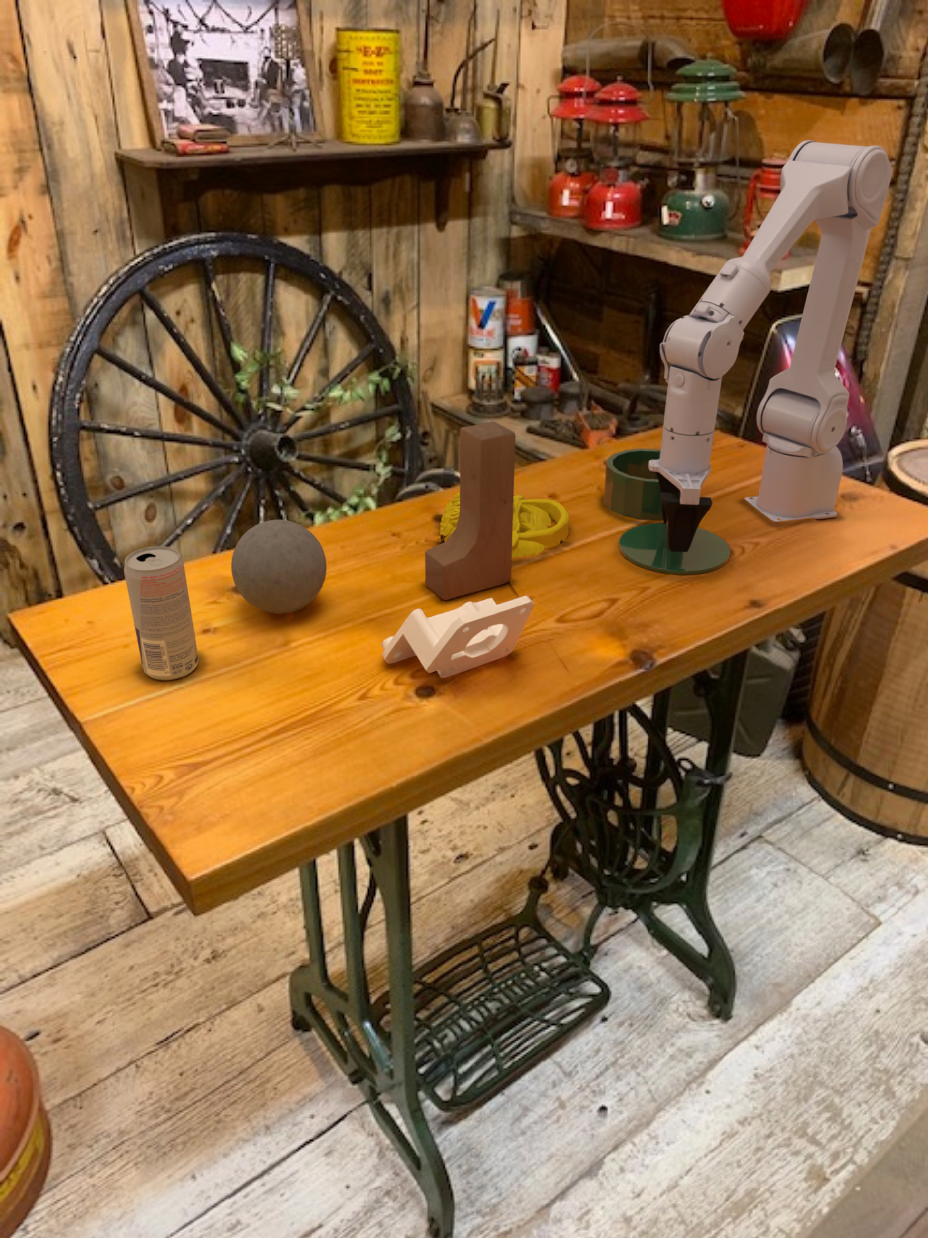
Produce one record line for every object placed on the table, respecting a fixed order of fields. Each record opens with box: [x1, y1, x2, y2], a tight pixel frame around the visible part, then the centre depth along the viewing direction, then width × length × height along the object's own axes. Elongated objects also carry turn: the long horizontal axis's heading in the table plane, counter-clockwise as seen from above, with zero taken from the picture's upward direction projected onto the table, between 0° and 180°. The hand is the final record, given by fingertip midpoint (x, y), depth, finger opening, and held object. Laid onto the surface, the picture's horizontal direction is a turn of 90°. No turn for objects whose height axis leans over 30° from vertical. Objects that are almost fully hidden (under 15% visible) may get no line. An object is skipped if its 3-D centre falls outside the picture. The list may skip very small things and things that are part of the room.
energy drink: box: [123, 545, 200, 681], centre depth 94 cm, size 5×5×12 cm
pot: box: [603, 448, 663, 522], centre depth 130 cm, size 12×12×6 cm
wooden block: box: [424, 421, 517, 601], centre depth 108 cm, size 9×4×18 cm, turn 120°
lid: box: [618, 522, 731, 576], centre depth 118 cm, size 13×13×4 cm
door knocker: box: [439, 492, 570, 559], centre depth 123 cm, size 17×16×4 cm
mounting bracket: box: [381, 595, 535, 679], centre depth 95 cm, size 12×6×11 cm, turn 123°
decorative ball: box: [230, 519, 327, 615], centre depth 105 cm, size 10×10×10 cm
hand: (675, 536), depth 118 cm, fingers open, 7 cm apart
